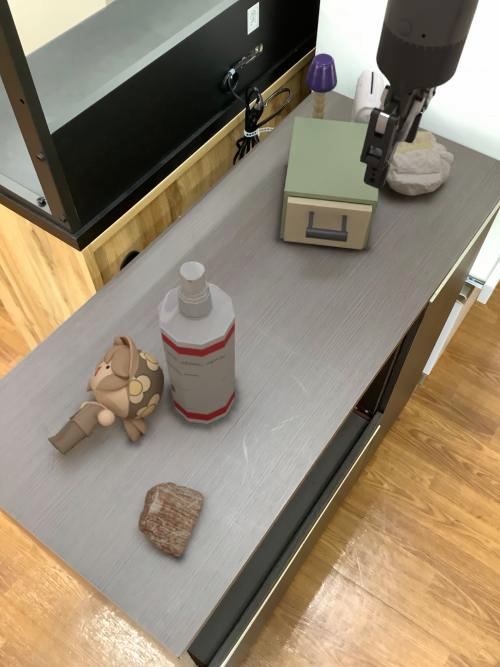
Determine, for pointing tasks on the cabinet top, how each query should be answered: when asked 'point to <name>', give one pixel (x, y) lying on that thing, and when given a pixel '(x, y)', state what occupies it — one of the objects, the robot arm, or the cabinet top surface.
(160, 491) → the stone
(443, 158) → the fossil replica
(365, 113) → the photo printer
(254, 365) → the cabinet top surface
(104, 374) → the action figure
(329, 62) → the toy lamp
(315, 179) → the cabinet
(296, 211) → the drawer
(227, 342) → the spray bottle
